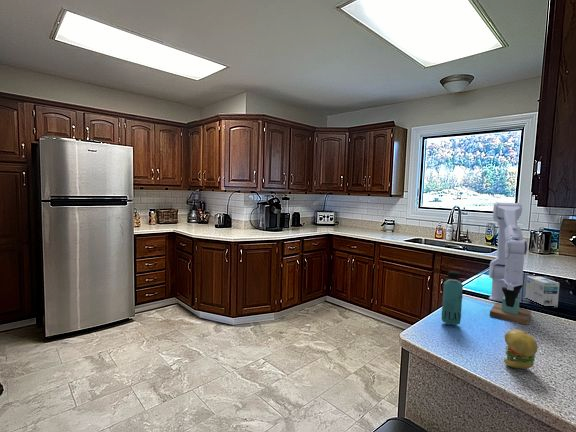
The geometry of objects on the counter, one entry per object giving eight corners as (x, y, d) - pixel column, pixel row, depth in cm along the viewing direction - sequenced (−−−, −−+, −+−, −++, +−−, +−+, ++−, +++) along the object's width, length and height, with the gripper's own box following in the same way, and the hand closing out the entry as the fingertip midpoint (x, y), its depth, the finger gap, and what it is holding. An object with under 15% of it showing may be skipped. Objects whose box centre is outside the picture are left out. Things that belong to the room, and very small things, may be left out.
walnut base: (494, 307, 134) (495, 303, 134) (530, 315, 126) (530, 310, 126) (489, 316, 125) (489, 311, 125) (527, 325, 117) (527, 319, 117)
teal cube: (503, 307, 129) (504, 295, 128) (518, 310, 126) (519, 298, 125) (501, 310, 125) (502, 298, 125) (517, 314, 122) (518, 301, 121)
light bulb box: (558, 307, 136) (560, 282, 135) (542, 307, 136) (544, 282, 135) (539, 298, 146) (541, 275, 145) (524, 298, 147) (526, 275, 146)
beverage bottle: (440, 326, 115) (443, 272, 113) (441, 320, 120) (444, 268, 119) (460, 330, 112) (464, 275, 110) (460, 323, 117) (464, 270, 116)
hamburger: (521, 361, 92) (525, 321, 91) (542, 376, 85) (546, 333, 84) (496, 362, 92) (499, 321, 90) (514, 376, 84) (518, 333, 83)
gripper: (504, 265, 132) (501, 296, 133) (498, 271, 121) (495, 306, 122) (525, 268, 127) (522, 301, 128) (521, 275, 116) (518, 311, 118)
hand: (511, 303), depth 125 cm, fingers open, 7 cm apart
